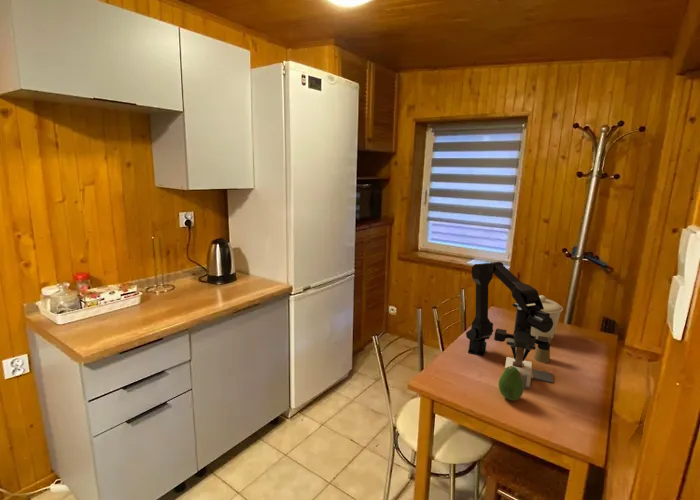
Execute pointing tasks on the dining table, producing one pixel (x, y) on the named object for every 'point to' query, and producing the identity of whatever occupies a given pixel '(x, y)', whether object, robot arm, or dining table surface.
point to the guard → (522, 370)
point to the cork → (543, 352)
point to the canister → (554, 312)
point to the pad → (542, 376)
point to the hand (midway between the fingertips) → (519, 359)
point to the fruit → (511, 384)
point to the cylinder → (519, 357)
